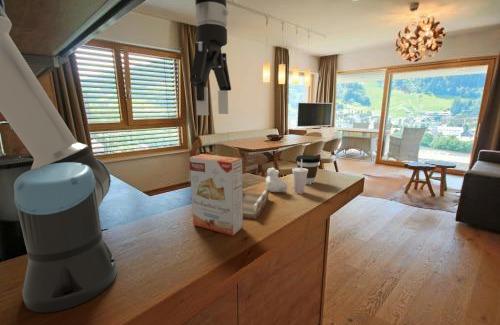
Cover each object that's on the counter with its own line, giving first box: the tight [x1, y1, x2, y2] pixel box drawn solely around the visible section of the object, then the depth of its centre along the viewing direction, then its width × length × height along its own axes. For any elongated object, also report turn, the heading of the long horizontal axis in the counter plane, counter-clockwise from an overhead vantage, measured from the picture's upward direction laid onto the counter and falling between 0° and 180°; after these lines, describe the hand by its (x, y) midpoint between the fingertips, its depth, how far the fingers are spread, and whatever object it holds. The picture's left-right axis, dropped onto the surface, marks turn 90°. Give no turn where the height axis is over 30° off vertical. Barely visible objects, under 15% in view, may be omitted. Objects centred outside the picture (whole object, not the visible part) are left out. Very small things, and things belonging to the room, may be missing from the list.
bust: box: [265, 166, 288, 194], centre depth 103 cm, size 12×8×11 cm
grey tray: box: [243, 187, 270, 220], centre depth 88 cm, size 18×11×5 cm, turn 164°
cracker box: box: [189, 153, 244, 237], centre depth 71 cm, size 14×6×21 cm, turn 62°
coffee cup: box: [295, 154, 321, 185], centre depth 115 cm, size 11×11×12 cm
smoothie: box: [291, 159, 308, 195], centre depth 101 cm, size 6×6×14 cm
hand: (214, 114), depth 67 cm, fingers open, 13 cm apart
